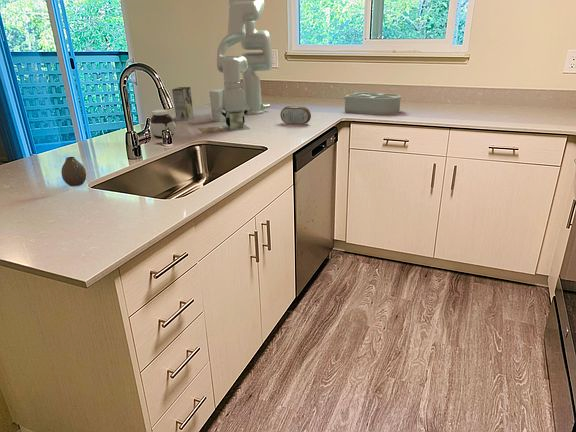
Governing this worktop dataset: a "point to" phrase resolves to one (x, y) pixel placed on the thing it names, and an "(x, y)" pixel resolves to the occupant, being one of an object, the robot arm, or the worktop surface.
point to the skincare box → (216, 105)
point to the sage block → (236, 120)
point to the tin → (295, 115)
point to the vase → (73, 172)
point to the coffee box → (183, 103)
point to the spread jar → (161, 123)
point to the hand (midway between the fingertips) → (235, 124)
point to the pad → (210, 130)
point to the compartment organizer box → (372, 103)
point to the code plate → (235, 129)
